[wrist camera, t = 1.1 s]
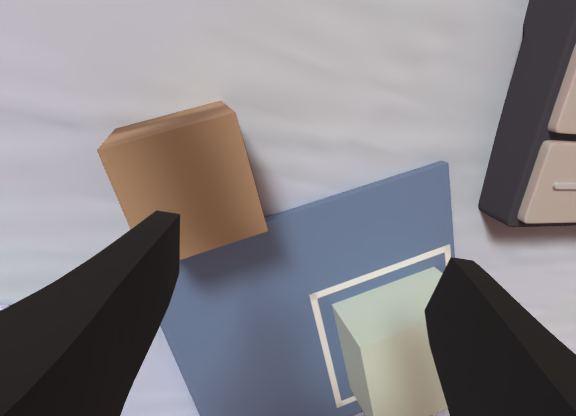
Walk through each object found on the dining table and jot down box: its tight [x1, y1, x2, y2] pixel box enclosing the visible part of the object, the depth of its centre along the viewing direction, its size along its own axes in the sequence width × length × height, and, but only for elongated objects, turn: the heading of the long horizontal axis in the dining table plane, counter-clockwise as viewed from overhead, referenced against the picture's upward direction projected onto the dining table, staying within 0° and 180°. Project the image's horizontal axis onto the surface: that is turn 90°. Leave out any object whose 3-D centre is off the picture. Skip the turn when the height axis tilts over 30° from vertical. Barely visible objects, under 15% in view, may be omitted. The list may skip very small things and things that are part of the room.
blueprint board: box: [160, 161, 455, 416], centre depth 25 cm, size 18×16×1 cm
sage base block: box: [332, 267, 448, 416], centre depth 24 cm, size 7×7×4 cm
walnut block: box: [97, 101, 268, 260], centre depth 18 cm, size 5×5×5 cm
